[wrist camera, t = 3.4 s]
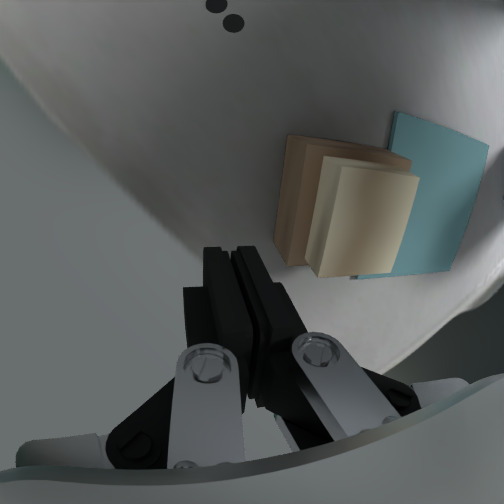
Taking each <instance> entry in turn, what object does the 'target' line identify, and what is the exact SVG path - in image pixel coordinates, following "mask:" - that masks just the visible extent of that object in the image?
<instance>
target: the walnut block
mask: <svg viewBox="0 0 504 504" xmlns="http://www.w3.org/2000/svg"><path fill="white" fill-rule="evenodd" d="M324 156H329V157H338V158H346V159H353V160H361V161H368V162H374V163H381V164H387V165H393V166H399V167H401V168H402V169H404V170H406V171H408V172H410V168H411V164H412V161H411V160H409V159H407V158H405V157H403V156H400V155H398V154H396V153H394V152H391V151H389V150H387V149H384V148H379V147H373V146H368V145H362V144H356V143H350V142H343V141H337V140H330V139H322V138H315V137H306V136H297V135H288V136H287V143H286V151H285V159H284V166H283V174H282V181H281V189H280V196H279V203H278V210H277V218H276V225H275V232H274V239H273V242H274V244H275V246H276V247H277V249H278V251H279V253H280V255H281V256H282V258H283V260H284V262H285V263H286V265H287V266H303V265H309V264H308V263H307V261H306V260H305V254H306V249H307V244H308V239H309V234H310V229H311V224H312V219H313V213H314V208H315V203H316V197H317V192H318V186H319V181H320V175H321V169H322V163H323V157H324Z"/></svg>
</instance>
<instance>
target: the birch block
mask: <svg viewBox="0 0 504 504" xmlns="http://www.w3.org/2000/svg"><path fill="white" fill-rule="evenodd" d="M419 179H420V177H418V176H416V175H414V174H412V173H410V172H408V171H406V170H404V169H402V168H401V167H399V166H393V165H387V164H381V163H374V162H368V161H361V160H353V159H346V158H338V157H329V156H324V157H323V163H322V169H321V175H320V181H319V186H318V192H317V197H316V203H315V208H314V213H313V219H312V224H311V229H310V234H309V239H308V244H307V249H306V254H305V260H306V261H307V263H308V264H309V266H310V267H311V269H312V270H313V272H314V273H315V275H316V276H317V278H325V277H340V276H355V275H368V274H381V273H391V270H392V268H393V265H394V262H395V259H396V256H397V253H398V250H399V247H400V244H401V241H402V238H403V235H404V232H405V229H406V226H407V222H408V219H409V216H410V212H411V209H412V205H413V202H414V198H415V195H416V191H417V187H418V183H419Z"/></svg>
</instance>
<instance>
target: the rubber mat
mask: <svg viewBox="0 0 504 504" xmlns="http://www.w3.org/2000/svg"><path fill="white" fill-rule="evenodd" d="M488 149H489V145H487V144H484V143H482V142H480V141H478V140H475V139H473V138H471V137H468V136H466V135H463V134H461V133H458V132H456V131H453V130H451V129H448V128H445V127H443V126H440V125H437V124H434V123H431V122H429V121H426V120H423V119H420V118H417V117H413V116H410V115H407V114H404V113H400V112H397V111H395V113H394V119H393V125H392V130H391V136H390V141H389V146H388V150H389V151H391V152H394V153H396V154H398V155H400V156H403V157H405V158H407V159H409V160H411V161H412V164H411V168H410V173H412V174H414V175H416V176H418V177H420V179H419V183H418V187H417V191H416V195H415V198H414V202H413V205H412V209H411V212H410V216H409V219H408V222H407V226H406V229H405V232H404V235H403V238H402V241H401V244H400V247H399V250H398V253H397V256H396V259H395V262H394V265H393V268H392V270H391V273H381V274H368V275H355V277H356V278H357V279H367V278H379V277H391V276H402V275H412V274H423V273H433V272H442V271H449V270H450V268H451V266H452V263H453V261H454V258H455V256H456V253H457V251H458V248H459V246H460V243H461V240H462V238H463V235H464V232H465V229H466V227H467V224H468V221H469V218H470V215H471V212H472V209H473V206H474V202H475V199H476V196H477V192H478V189H479V185H480V182H481V178H482V174H483V170H484V166H485V162H486V158H487V154H488Z"/></svg>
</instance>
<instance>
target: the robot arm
mask: <svg viewBox="0 0 504 504" xmlns="http://www.w3.org/2000/svg"><path fill="white" fill-rule="evenodd" d="M183 297H184V315H185V329H186V339H187V349H186V350H184V351H183V352H182V354H181V355H180V356H179V358H178V361H177V365H176V374H175V377H174V378H173V379H172V380H171V381H169V382H168V383H167V384H166V385H165V386H164V387H163V388H161V389H160V390H159V391H158V392H157V393H156V394H154V395H153V396H152V397H151V398H150V399H149V400H147V401H146V402H145V403H144V404H143V405H142V406H140V407H139V408H138V409H137V410H136V411H134V412H133V413H132V414H131V415H130V416H129V417H127V418H126V419H125V420H124V421H123V422H121V423H120V424H119V425H118V426H117V427H115V428H114V429H113V430H112V432H111V433H110V434H107V435H101V436H97V434H96V433H92V434H86V435H78V436H71V437H62V438H52V439H41V440H32V441H28V442H25V443H24V444H23V445H22V446H20V448H19V449H18V451H17V453H16V461H15V463H16V468H11V469H7V470H2V471H0V504H504V374H499V375H494V376H490V377H487V378H484V379H482V380H479V381H477V382H475V383H473V384H471V385H469V384H468V383H467V382H466V381H464V380H463V379H460V378H450V379H444V380H437V381H430V382H422V383H414V384H412V385H411V386H410V387H409V386H407V385H405V384H404V383H401V382H399V381H396V380H393V379H391V378H388V377H386V376H383V375H380V374H378V373H375V372H373V371H370V370H368V369H365V368H363V367H360V366H359V365H358V363H357V362H356V361H355V360H354V359H353V357H352V356H351V355H350V354H349V352H348V351H347V350H346V349H345V348H344V346H343V345H342V344H341V343H340V342H339V341H338V340H337V339H335V338H334V337H332V336H330V335H328V334H324V333H320V332H309V333H308V331H307V329H306V328H305V326H304V324H303V322H302V320H301V318H300V316H299V314H298V312H297V311H296V309H295V307H294V305H293V303H292V301H291V299H290V298H289V296H288V294H287V292H286V290H285V288H284V286H283V285H282V283H280V282H275V283H273V281H272V279H271V277H270V275H269V273H268V271H267V269H266V267H265V265H264V263H263V261H262V259H261V257H260V255H259V253H258V251H257V249H256V247H255V246H238V247H237V251H231V260H230V258H229V255H228V252H227V251H222V249H221V247H204V250H203V287H183ZM247 395H248V397H249V399H254V398H255V401H256V404H257V408H259V407H265V408H266V409H267V410H269V411H271V412H273V413H274V418H275V421H276V423H277V425H278V427H279V429H280V430H281V432H282V433H283V436H284V438H285V439H286V441H287V443H288V445H289V447H290V448H291V450H292V453H288V454H283V455H278V456H273V457H269V458H263V459H258V460H252V461H245V448H244V437H243V424H242V414H243V413H244V409H245V403H246V396H247Z"/></svg>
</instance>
